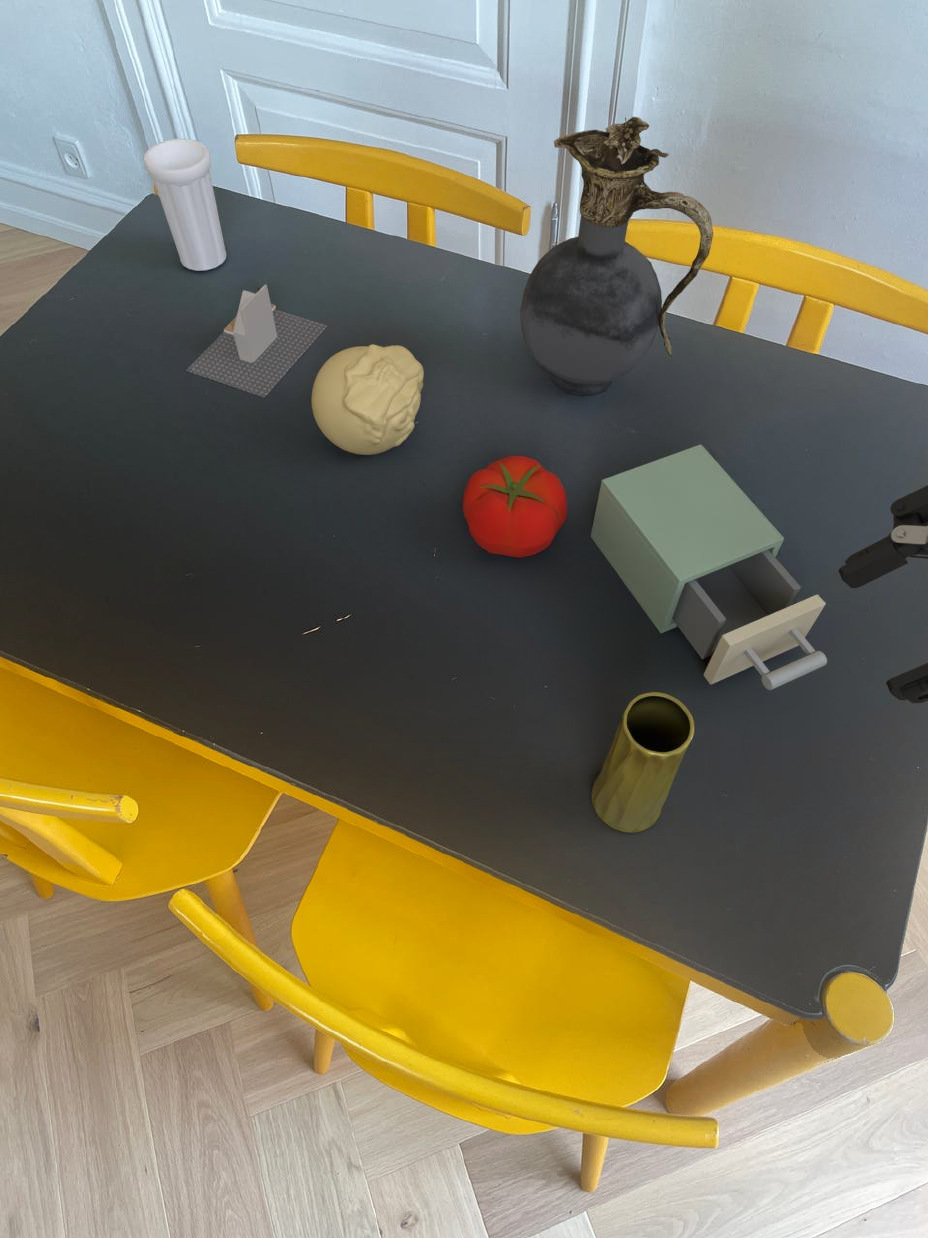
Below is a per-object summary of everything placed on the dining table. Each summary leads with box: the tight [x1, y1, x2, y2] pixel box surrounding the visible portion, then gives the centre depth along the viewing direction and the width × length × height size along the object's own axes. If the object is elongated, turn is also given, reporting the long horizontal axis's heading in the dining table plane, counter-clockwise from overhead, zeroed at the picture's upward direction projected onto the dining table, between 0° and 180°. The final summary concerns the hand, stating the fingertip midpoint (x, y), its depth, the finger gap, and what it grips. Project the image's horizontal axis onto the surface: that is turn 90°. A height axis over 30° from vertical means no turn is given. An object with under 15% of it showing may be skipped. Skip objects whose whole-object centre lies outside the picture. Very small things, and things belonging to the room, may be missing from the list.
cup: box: [143, 138, 227, 272], centre depth 112 cm, size 8×8×14 cm
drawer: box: [672, 550, 828, 691], centre depth 80 cm, size 17×10×7 cm, turn 25°
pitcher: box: [519, 116, 714, 397], centre depth 92 cm, size 11×19×30 cm, turn 65°
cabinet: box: [590, 444, 785, 634], centre depth 85 cm, size 14×12×9 cm
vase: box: [590, 691, 695, 834], centre depth 68 cm, size 6×6×14 cm
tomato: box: [462, 455, 568, 559], centre depth 88 cm, size 11×11×8 cm
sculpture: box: [311, 343, 425, 456], centre depth 94 cm, size 12×12×11 cm
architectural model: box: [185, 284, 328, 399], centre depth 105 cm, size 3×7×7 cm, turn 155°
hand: (867, 633), depth 54 cm, fingers open, 8 cm apart
